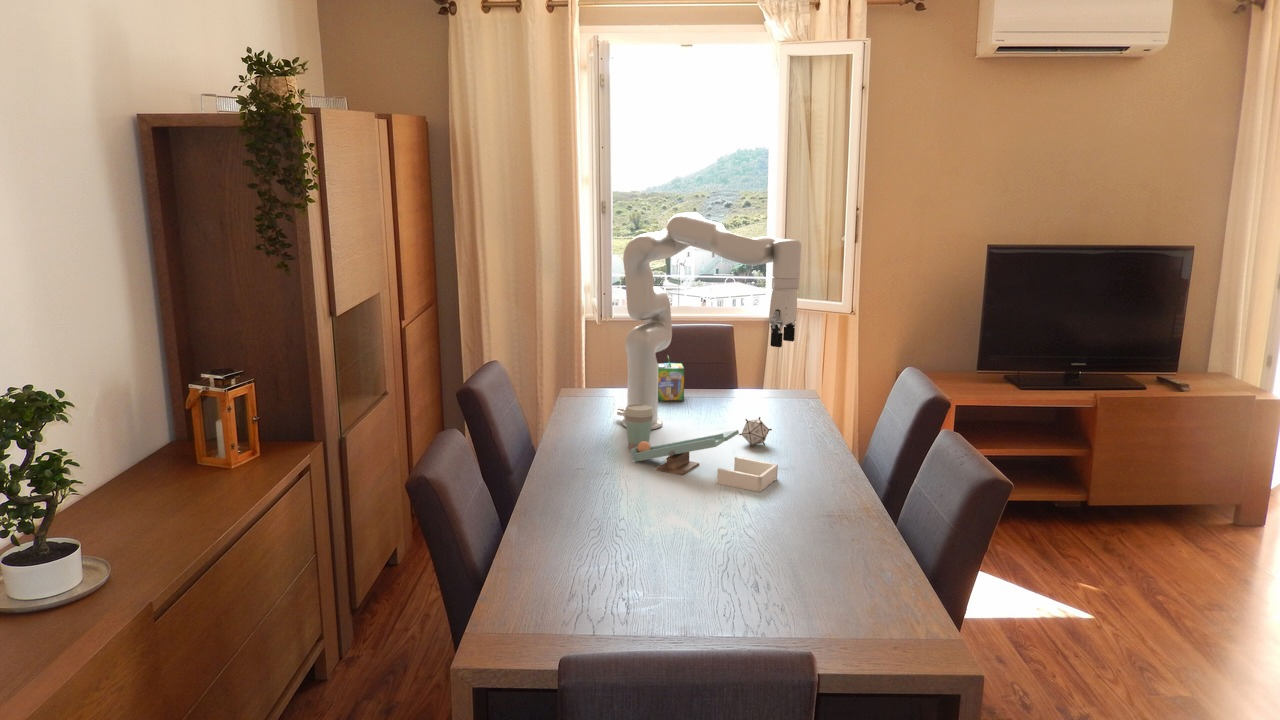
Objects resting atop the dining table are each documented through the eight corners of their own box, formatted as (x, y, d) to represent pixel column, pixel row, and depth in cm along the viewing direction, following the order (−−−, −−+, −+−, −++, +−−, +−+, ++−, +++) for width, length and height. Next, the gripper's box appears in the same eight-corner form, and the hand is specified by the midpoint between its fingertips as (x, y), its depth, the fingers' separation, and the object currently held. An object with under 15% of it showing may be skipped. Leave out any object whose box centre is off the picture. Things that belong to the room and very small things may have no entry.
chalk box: (684, 401, 325) (685, 359, 321) (657, 401, 325) (658, 358, 321) (682, 394, 334) (683, 353, 330) (656, 394, 334) (657, 353, 330)
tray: (717, 483, 246) (717, 468, 245) (735, 470, 256) (735, 456, 255) (760, 492, 240) (760, 477, 239) (777, 479, 250) (777, 464, 249)
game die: (760, 458, 278) (773, 438, 271) (733, 448, 277) (746, 427, 270) (763, 436, 284) (777, 416, 277) (737, 426, 284) (750, 405, 277)
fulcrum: (656, 469, 255) (656, 456, 254) (673, 459, 264) (673, 446, 263) (682, 475, 251) (682, 461, 250) (699, 464, 260) (699, 451, 259)
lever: (631, 463, 259) (627, 451, 259) (658, 448, 273) (654, 437, 272) (715, 448, 246) (711, 435, 245) (739, 433, 259) (735, 421, 259)
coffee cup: (654, 443, 278) (655, 403, 276) (651, 452, 270) (652, 411, 267) (625, 441, 279) (626, 402, 276) (622, 450, 271) (622, 410, 268)
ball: (636, 456, 261) (634, 443, 261) (642, 452, 264) (640, 440, 264) (647, 455, 259) (645, 442, 259) (653, 452, 262) (651, 439, 262)
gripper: (784, 279, 273) (781, 337, 277) (761, 286, 259) (758, 347, 262) (808, 281, 270) (805, 340, 274) (787, 288, 255) (783, 350, 259)
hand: (782, 343), depth 268 cm, fingers open, 9 cm apart
